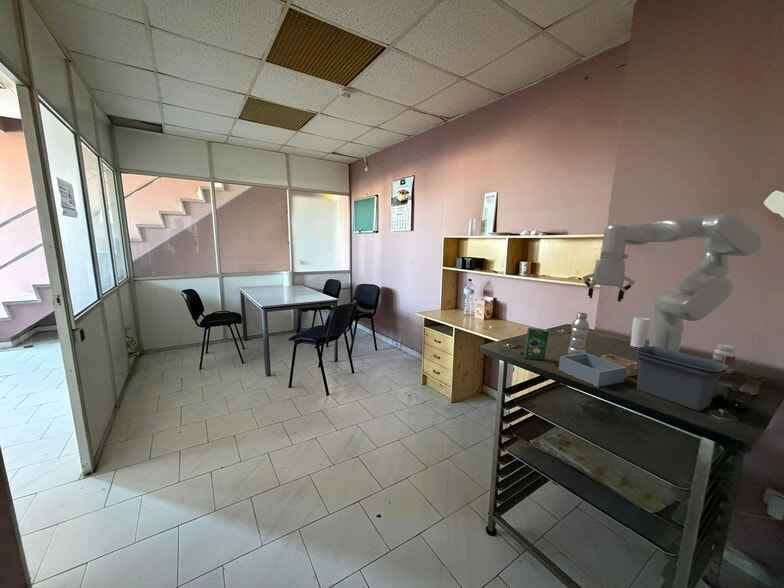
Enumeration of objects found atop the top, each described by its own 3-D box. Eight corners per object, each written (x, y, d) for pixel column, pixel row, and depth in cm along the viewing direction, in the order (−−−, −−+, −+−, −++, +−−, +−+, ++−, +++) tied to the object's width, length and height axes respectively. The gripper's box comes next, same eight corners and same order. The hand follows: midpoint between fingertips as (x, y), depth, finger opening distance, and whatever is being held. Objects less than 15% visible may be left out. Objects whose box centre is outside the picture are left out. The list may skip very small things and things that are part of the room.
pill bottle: (730, 371, 130) (736, 346, 128) (732, 376, 125) (739, 349, 123) (709, 367, 134) (714, 342, 132) (710, 371, 129) (716, 345, 127)
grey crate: (583, 365, 128) (585, 352, 127) (624, 381, 114) (626, 367, 113) (558, 369, 123) (560, 356, 122) (597, 387, 109) (600, 372, 108)
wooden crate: (609, 365, 131) (611, 354, 130) (636, 375, 122) (638, 363, 121) (598, 367, 128) (600, 355, 127) (624, 377, 119) (627, 364, 118)
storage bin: (623, 387, 109) (631, 348, 107) (644, 380, 117) (651, 343, 115) (706, 418, 91) (717, 372, 89) (724, 407, 99) (734, 364, 97)
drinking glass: (646, 350, 152) (651, 320, 150) (628, 347, 156) (634, 318, 153) (644, 347, 158) (650, 318, 155) (627, 344, 162) (633, 315, 159)
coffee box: (543, 358, 135) (547, 328, 132) (545, 360, 132) (549, 330, 130) (523, 356, 136) (527, 327, 134) (524, 358, 133) (528, 328, 131)
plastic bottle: (587, 361, 134) (595, 315, 130) (571, 360, 134) (578, 314, 130) (579, 355, 140) (585, 312, 137) (563, 355, 140) (570, 311, 137)
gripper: (636, 258, 123) (628, 301, 126) (585, 255, 131) (579, 295, 134) (641, 258, 116) (632, 303, 119) (586, 255, 124) (580, 298, 127)
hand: (604, 299), depth 126 cm, fingers open, 9 cm apart
